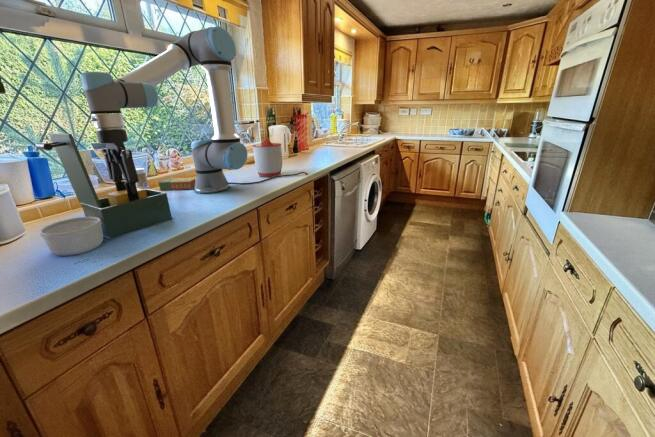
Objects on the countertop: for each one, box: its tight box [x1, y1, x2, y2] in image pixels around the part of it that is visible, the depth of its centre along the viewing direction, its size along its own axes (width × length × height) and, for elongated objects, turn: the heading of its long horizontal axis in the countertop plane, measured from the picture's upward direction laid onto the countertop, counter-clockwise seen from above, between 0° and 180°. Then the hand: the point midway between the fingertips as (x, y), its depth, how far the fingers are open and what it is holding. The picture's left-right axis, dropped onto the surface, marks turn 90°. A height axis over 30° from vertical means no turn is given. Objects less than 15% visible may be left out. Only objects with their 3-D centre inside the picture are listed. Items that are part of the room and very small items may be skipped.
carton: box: [158, 176, 196, 191], centre depth 148 cm, size 8×16×4 cm, turn 89°
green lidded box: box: [80, 188, 173, 240], centre depth 99 cm, size 20×13×10 cm
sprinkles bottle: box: [135, 167, 150, 189], centre depth 127 cm, size 5×5×14 cm
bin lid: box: [35, 132, 101, 208], centre depth 83 cm, size 21×13×6 cm
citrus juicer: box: [252, 138, 283, 178], centre depth 167 cm, size 16×17×20 cm
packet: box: [106, 187, 147, 206], centre depth 98 cm, size 9×6×4 cm, turn 148°
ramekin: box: [39, 216, 104, 257], centre depth 83 cm, size 13×13×7 cm
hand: (130, 202), depth 99 cm, fingers closed on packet, 6 cm apart
